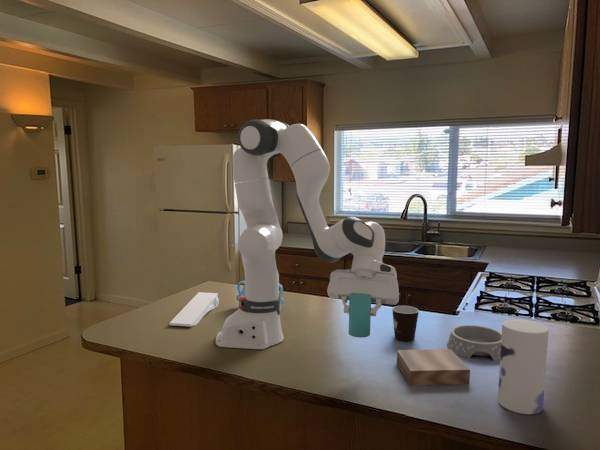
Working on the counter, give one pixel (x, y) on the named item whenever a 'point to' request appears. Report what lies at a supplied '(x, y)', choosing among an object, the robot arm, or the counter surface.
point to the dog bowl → (475, 341)
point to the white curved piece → (196, 309)
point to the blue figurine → (244, 291)
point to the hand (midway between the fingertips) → (359, 313)
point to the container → (523, 366)
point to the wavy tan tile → (432, 367)
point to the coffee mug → (405, 322)
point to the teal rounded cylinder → (359, 315)
